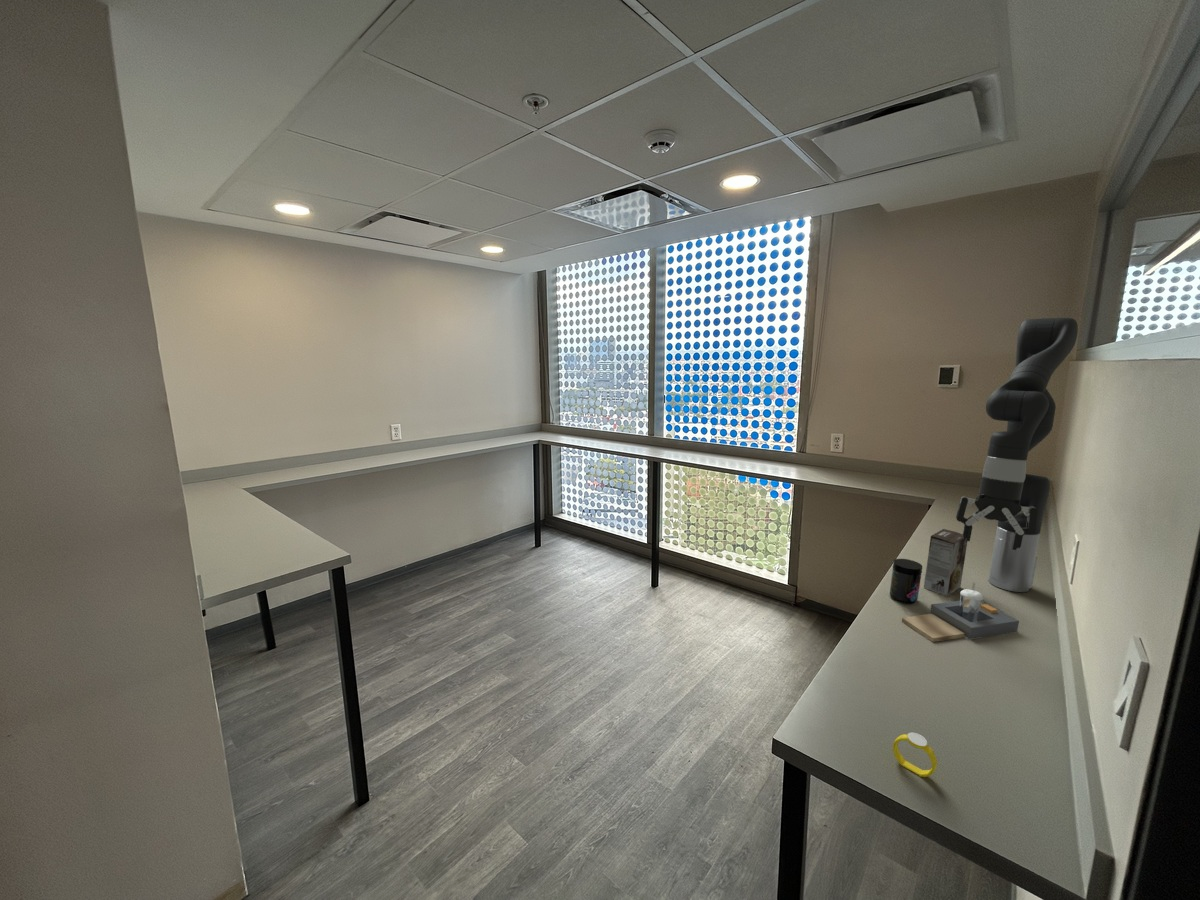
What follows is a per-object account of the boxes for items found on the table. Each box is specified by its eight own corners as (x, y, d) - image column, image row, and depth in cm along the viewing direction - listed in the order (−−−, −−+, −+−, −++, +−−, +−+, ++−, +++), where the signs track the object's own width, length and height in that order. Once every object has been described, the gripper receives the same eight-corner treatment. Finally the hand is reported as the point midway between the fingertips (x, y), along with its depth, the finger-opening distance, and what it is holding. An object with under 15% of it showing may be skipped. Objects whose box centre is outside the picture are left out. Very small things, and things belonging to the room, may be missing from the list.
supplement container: (902, 606, 129) (907, 570, 127) (883, 594, 135) (887, 559, 133) (923, 603, 130) (928, 567, 128) (903, 591, 137) (908, 557, 134)
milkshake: (979, 622, 121) (985, 586, 119) (977, 631, 117) (983, 594, 115) (957, 616, 124) (962, 580, 122) (954, 625, 120) (960, 588, 118)
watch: (934, 777, 78) (942, 747, 76) (929, 787, 76) (937, 756, 75) (894, 751, 82) (901, 723, 81) (888, 760, 81) (895, 731, 79)
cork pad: (931, 617, 123) (931, 613, 123) (964, 637, 115) (964, 633, 115) (901, 621, 122) (902, 617, 121) (932, 642, 113) (933, 638, 113)
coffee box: (936, 579, 144) (943, 528, 141) (961, 587, 139) (969, 534, 135) (922, 587, 139) (929, 535, 136) (947, 596, 134) (956, 542, 130)
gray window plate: (974, 608, 127) (976, 595, 127) (1017, 631, 117) (1019, 617, 116) (929, 614, 125) (931, 601, 124) (969, 639, 114) (972, 624, 113)
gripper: (1040, 480, 110) (1026, 548, 112) (963, 470, 118) (951, 534, 120) (1047, 484, 104) (1032, 556, 106) (965, 474, 112) (953, 541, 114)
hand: (989, 544), depth 113 cm, fingers open, 8 cm apart
